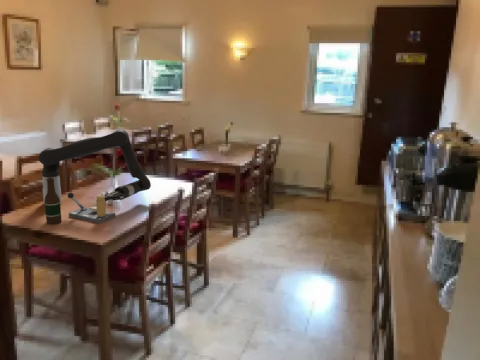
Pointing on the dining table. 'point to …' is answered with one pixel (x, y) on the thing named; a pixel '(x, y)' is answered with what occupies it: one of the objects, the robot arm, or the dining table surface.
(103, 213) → the slider knob
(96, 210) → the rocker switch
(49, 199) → the beer bottle
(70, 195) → the toggle lever
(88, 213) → the control box
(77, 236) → the dining table surface
